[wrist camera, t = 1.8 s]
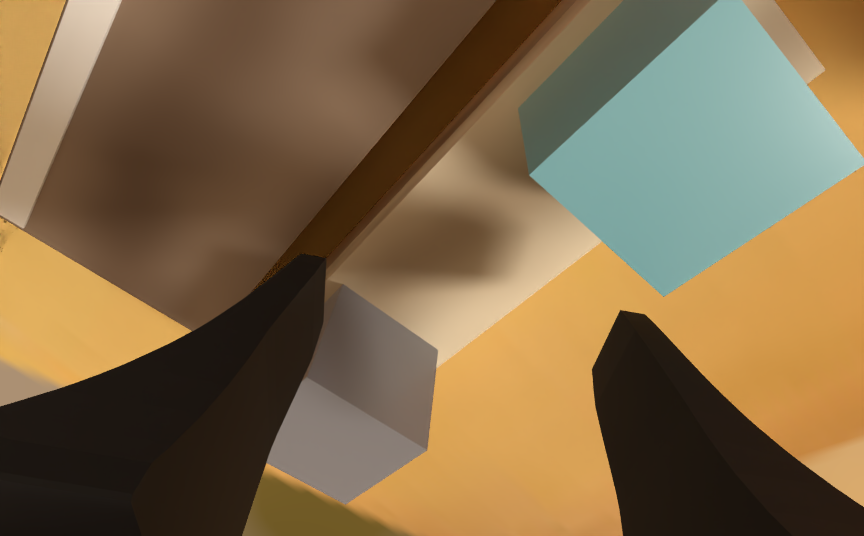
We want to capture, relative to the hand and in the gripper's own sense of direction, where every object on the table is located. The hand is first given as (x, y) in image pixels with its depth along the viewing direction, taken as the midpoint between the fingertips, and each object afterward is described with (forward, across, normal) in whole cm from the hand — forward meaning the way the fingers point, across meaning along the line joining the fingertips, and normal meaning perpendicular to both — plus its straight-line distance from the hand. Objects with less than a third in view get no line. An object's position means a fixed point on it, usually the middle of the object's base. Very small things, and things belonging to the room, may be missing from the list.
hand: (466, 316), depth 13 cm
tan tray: (+6, 0, 0) cm, 6 cm away
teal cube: (+3, -3, -5) cm, 7 cm away
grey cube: (+3, +3, +5) cm, 6 cm away
